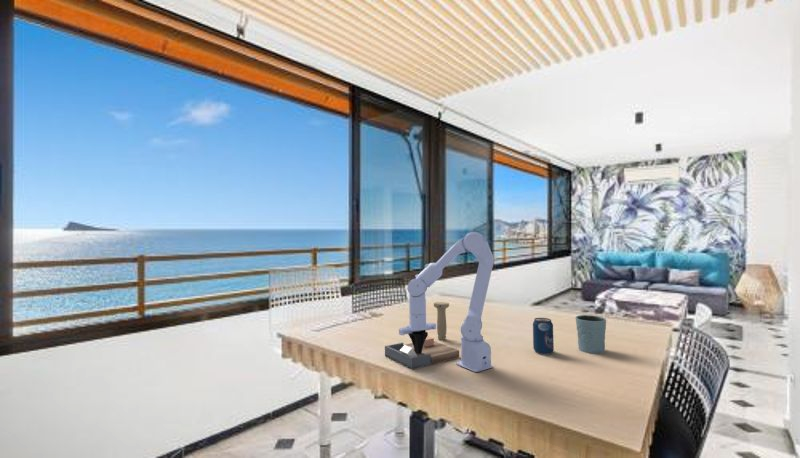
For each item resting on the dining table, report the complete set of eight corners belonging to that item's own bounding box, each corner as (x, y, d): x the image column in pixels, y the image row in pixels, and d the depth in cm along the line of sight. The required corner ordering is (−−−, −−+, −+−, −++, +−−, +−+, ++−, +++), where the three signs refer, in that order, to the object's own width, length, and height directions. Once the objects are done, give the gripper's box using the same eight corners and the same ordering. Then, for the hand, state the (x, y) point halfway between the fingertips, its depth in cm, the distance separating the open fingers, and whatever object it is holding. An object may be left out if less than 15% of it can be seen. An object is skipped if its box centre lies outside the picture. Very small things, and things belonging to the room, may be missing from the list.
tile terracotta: (433, 345, 135) (433, 338, 135) (424, 347, 132) (424, 340, 133) (426, 342, 139) (426, 335, 139) (417, 344, 136) (416, 337, 136)
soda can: (550, 356, 128) (550, 322, 128) (530, 352, 132) (530, 319, 132) (556, 351, 133) (555, 318, 134) (536, 348, 138) (535, 316, 138)
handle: (448, 341, 148) (447, 304, 149) (433, 340, 150) (432, 303, 151) (450, 338, 153) (450, 302, 153) (435, 337, 155) (435, 301, 155)
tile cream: (412, 348, 121) (407, 353, 120) (418, 357, 122) (413, 363, 121) (404, 344, 125) (399, 350, 123) (410, 354, 126) (406, 359, 125)
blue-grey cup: (599, 346, 139) (598, 315, 139) (612, 355, 129) (611, 321, 129) (572, 346, 140) (571, 314, 140) (582, 354, 130) (581, 320, 130)
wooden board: (459, 357, 128) (459, 350, 128) (431, 364, 121) (431, 357, 121) (429, 345, 142) (429, 339, 142) (403, 351, 135) (403, 345, 136)
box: (431, 364, 121) (431, 354, 121) (412, 369, 117) (411, 358, 117) (403, 351, 135) (403, 342, 136) (384, 355, 131) (384, 346, 131)
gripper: (427, 309, 133) (427, 346, 132) (393, 314, 125) (394, 353, 124) (439, 312, 127) (440, 351, 127) (405, 317, 119) (405, 359, 119)
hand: (418, 353), depth 125 cm, fingers closed
